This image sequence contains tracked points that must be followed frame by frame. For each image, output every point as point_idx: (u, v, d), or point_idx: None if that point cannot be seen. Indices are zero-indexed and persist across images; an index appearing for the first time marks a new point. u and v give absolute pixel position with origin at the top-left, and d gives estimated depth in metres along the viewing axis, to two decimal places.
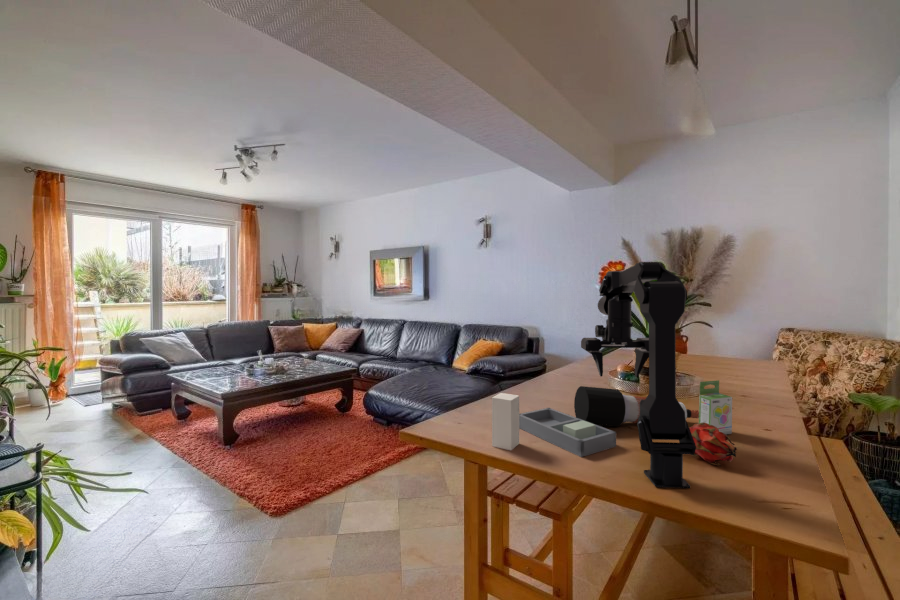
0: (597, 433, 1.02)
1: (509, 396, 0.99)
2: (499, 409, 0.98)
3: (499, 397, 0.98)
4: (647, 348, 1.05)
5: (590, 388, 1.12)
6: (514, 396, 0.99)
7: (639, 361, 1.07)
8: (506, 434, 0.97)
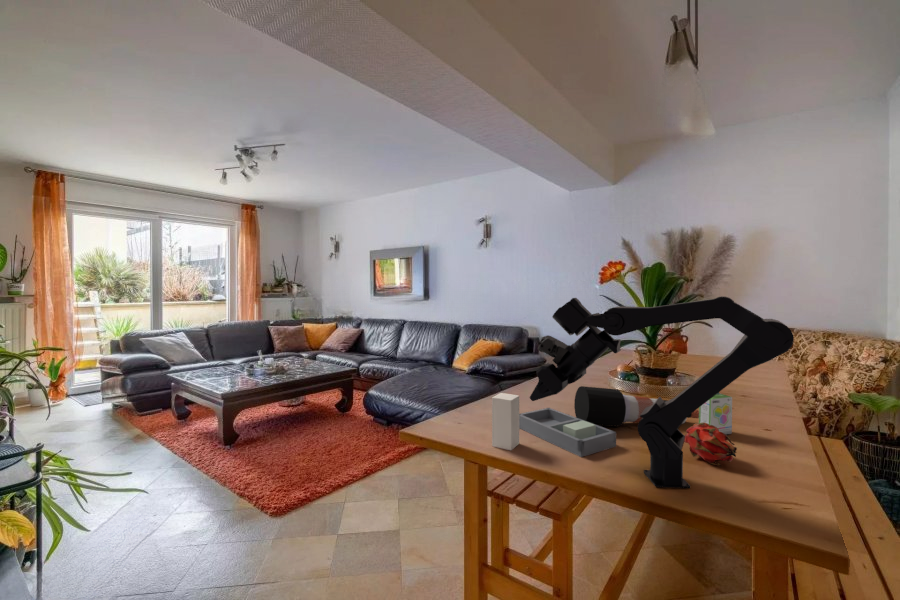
0: (597, 433, 1.02)
1: (509, 396, 0.99)
2: (499, 409, 0.98)
3: (499, 397, 0.98)
4: (579, 378, 0.96)
5: (590, 388, 1.12)
6: (514, 396, 0.99)
7: None
8: (506, 434, 0.97)
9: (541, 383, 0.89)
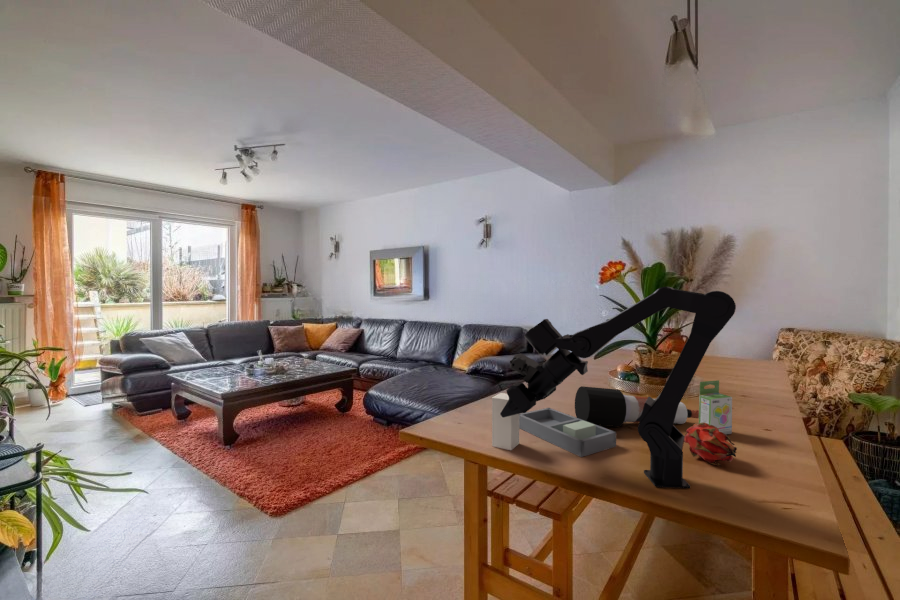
0: (597, 433, 1.02)
1: None
2: (499, 409, 0.98)
3: (499, 397, 0.98)
4: None
5: (591, 388, 1.11)
6: None
7: None
8: (506, 434, 0.97)
9: (511, 401, 0.92)
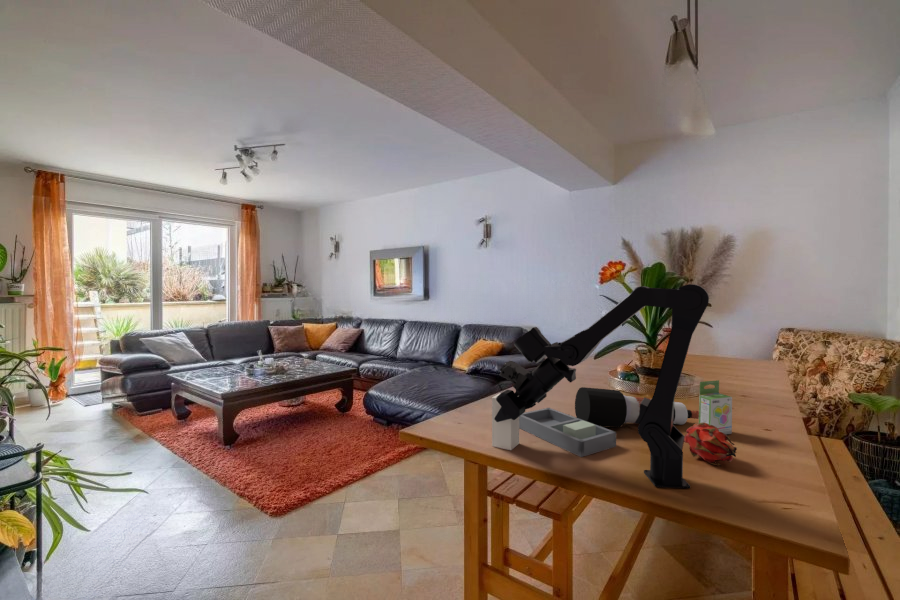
0: (597, 433, 1.02)
1: None
2: (499, 409, 0.98)
3: None
4: (539, 401, 1.01)
5: (591, 389, 1.11)
6: None
7: None
8: (506, 434, 0.97)
9: None
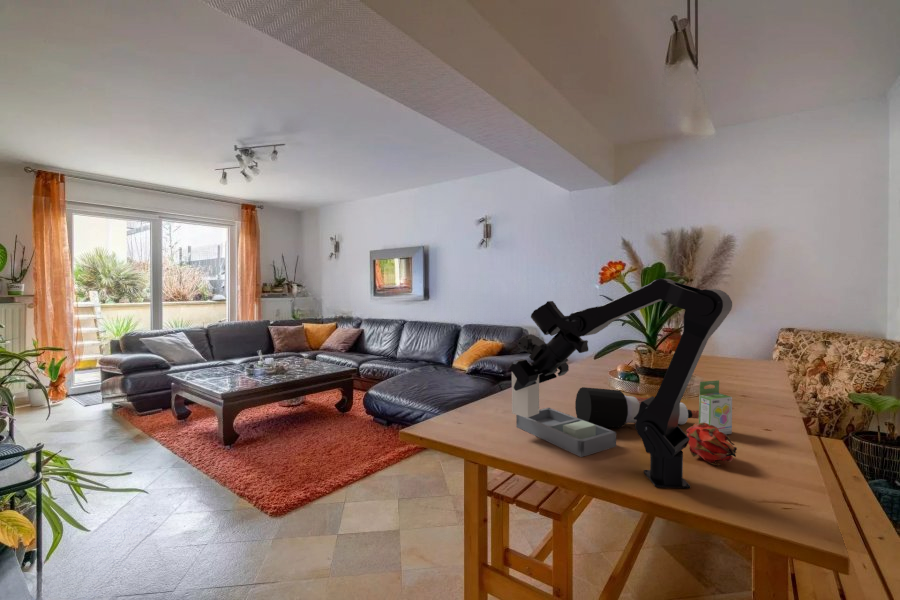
0: (597, 433, 1.02)
1: None
2: None
3: None
4: (560, 374, 1.05)
5: (592, 389, 1.11)
6: None
7: (540, 380, 1.05)
8: (523, 402, 1.03)
9: None
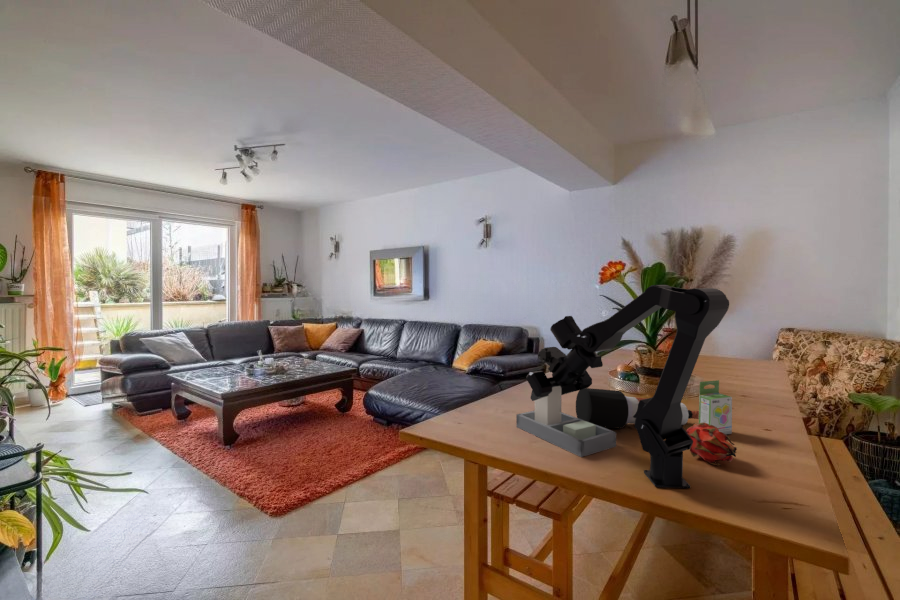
0: (597, 433, 1.02)
1: None
2: None
3: None
4: (582, 387, 1.07)
5: (592, 390, 1.10)
6: None
7: (567, 390, 1.10)
8: (544, 415, 1.07)
9: None
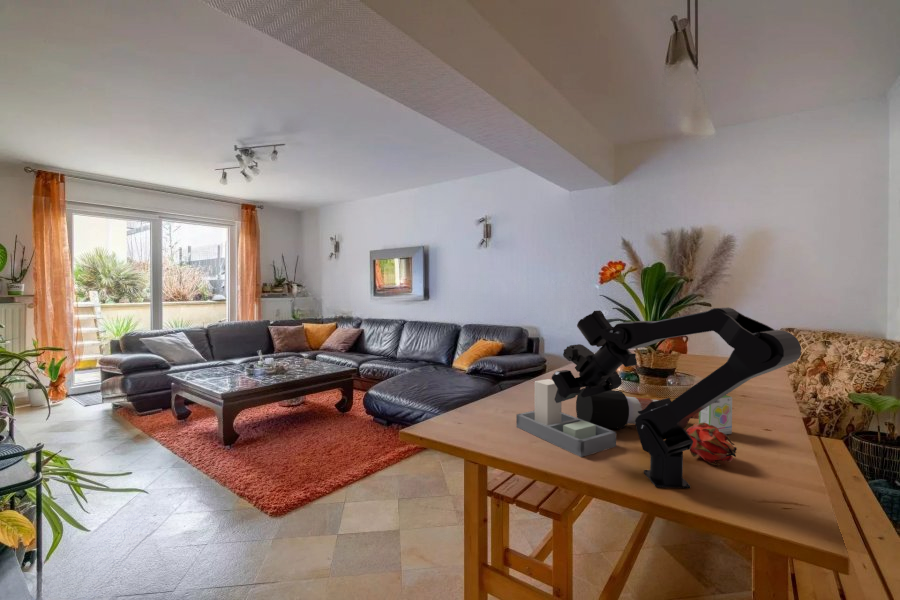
0: (597, 433, 1.02)
1: (551, 382, 1.09)
2: (539, 392, 1.09)
3: (541, 381, 1.10)
4: (611, 388, 0.99)
5: None
6: None
7: (595, 391, 1.02)
8: (544, 415, 1.07)
9: None
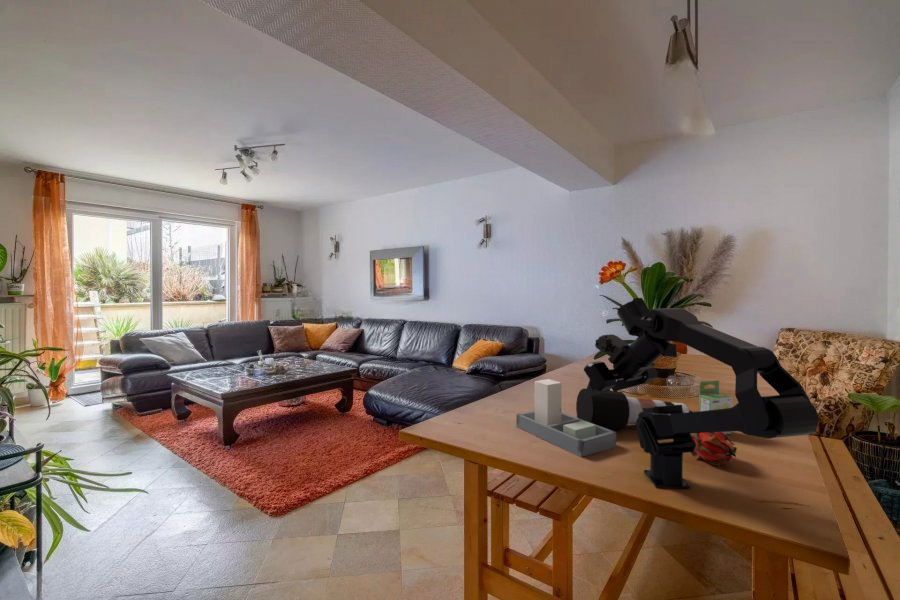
0: (597, 433, 1.02)
1: (551, 382, 1.09)
2: (539, 392, 1.09)
3: (541, 381, 1.10)
4: (646, 381, 0.92)
5: None
6: (555, 382, 1.08)
7: (628, 384, 0.95)
8: (544, 415, 1.07)
9: None
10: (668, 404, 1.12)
